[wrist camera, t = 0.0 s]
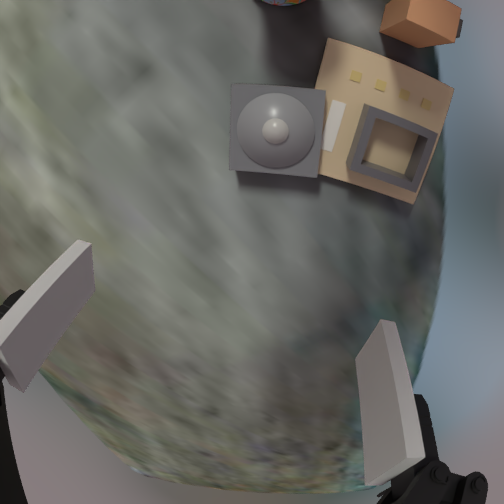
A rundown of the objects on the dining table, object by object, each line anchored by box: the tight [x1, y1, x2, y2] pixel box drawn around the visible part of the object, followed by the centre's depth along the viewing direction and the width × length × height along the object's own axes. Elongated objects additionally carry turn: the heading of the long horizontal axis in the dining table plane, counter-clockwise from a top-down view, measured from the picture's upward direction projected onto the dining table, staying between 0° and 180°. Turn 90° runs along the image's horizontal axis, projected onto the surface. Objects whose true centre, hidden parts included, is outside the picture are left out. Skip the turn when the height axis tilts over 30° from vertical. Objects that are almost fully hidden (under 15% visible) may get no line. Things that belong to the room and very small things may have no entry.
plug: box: [379, 0, 463, 48], centre depth 23 cm, size 4×6×10 cm
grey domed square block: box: [229, 83, 326, 178], centre depth 34 cm, size 10×10×4 cm
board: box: [314, 38, 454, 204], centre depth 32 cm, size 16×16×4 cm
